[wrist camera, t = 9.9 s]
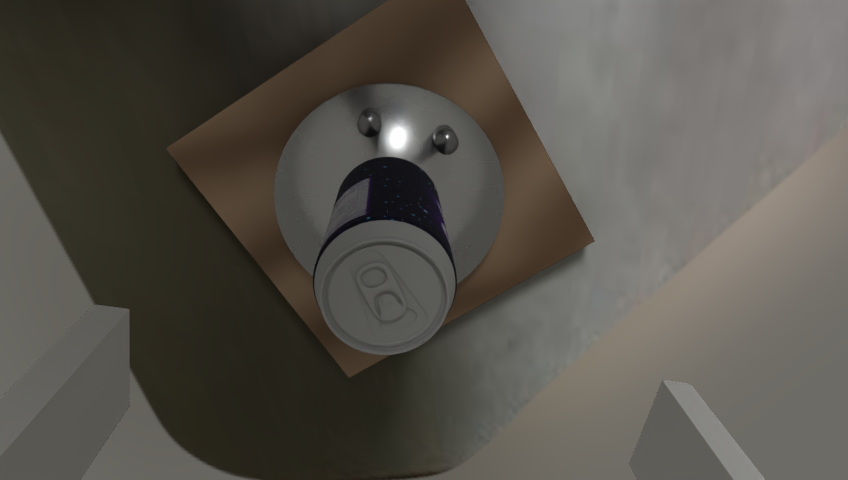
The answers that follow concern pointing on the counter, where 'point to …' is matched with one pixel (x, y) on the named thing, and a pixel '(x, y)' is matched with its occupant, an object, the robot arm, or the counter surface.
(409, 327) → the beverage can
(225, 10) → the counter surface
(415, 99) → the flange
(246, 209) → the base plate
